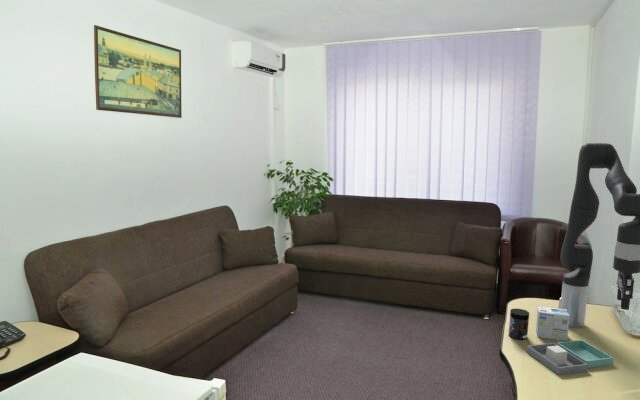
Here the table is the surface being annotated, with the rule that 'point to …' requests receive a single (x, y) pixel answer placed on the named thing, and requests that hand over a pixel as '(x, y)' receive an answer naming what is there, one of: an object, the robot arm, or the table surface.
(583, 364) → the bin
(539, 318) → the light bulb box
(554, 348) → the stone block
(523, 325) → the supplement container
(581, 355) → the bin
